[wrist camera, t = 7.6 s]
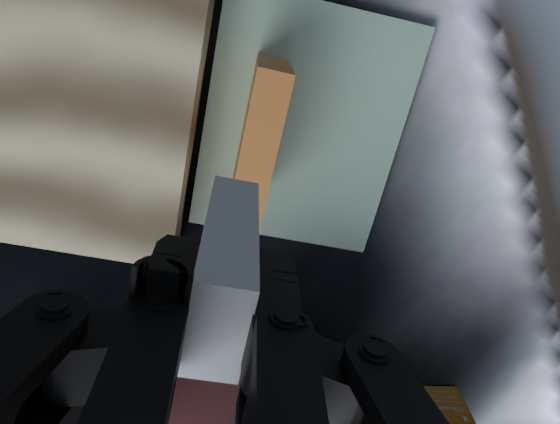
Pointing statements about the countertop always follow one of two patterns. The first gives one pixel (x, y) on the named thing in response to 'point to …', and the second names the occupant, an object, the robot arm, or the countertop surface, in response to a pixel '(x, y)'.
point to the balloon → (203, 402)
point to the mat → (314, 112)
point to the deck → (98, 121)
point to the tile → (264, 124)
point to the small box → (450, 404)
